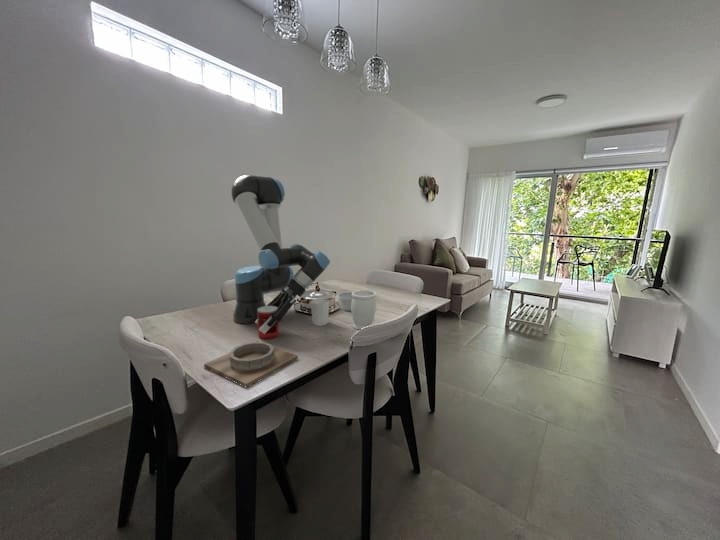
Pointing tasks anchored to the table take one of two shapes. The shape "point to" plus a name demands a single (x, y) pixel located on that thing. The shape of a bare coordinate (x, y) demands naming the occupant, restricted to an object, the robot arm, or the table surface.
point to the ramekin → (345, 301)
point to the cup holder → (250, 362)
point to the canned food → (263, 316)
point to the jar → (363, 308)
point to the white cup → (320, 311)
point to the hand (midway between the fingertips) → (259, 327)
